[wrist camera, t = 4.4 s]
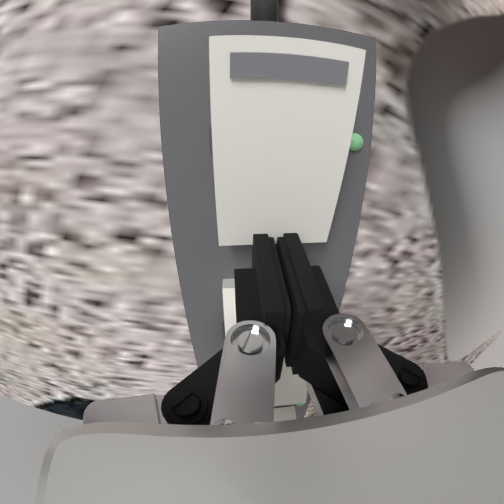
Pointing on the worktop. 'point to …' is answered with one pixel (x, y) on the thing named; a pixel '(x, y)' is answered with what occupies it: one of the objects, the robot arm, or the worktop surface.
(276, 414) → the rocker
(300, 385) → the block
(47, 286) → the worktop surface
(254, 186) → the rocker
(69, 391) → the worktop surface
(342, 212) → the power strip
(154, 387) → the worktop surface
